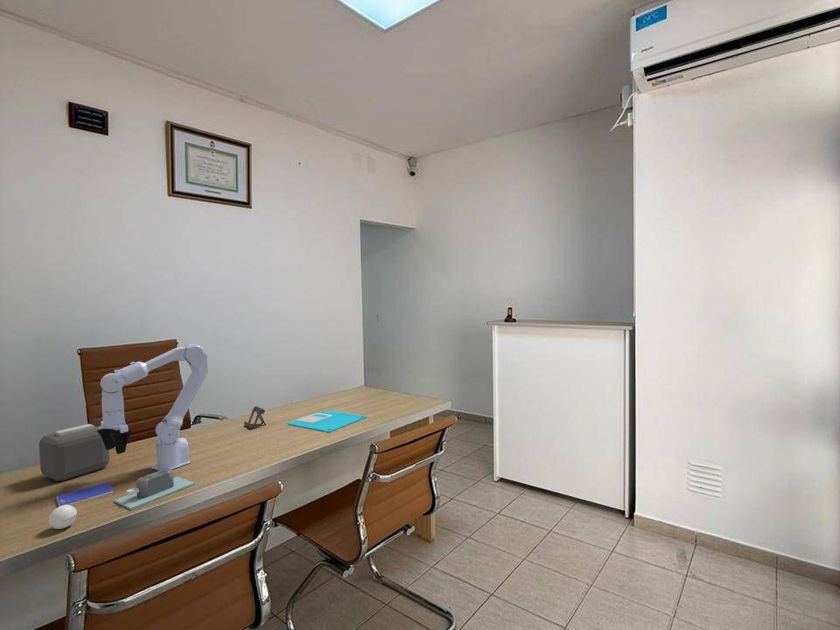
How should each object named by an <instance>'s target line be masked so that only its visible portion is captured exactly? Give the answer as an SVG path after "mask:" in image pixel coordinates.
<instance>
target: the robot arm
mask: <svg viewBox="0 0 840 630" xmlns="http://www.w3.org/2000/svg"><path fill="white" fill-rule="evenodd" d="M175 361H176V362H187V363H188V366H189V368H190V370H191V372H190V374H189V376H188V378H187V379H186V381H185V383H184V385H183V387H182V389H181V390H180V392H179V394H178V396H177V397H176V400H175V401H174V403H173V405H172V407H171V409H170V410H169V412H168V413H167V414H166V415H165V416H164V418H163V419H162V420H161V422H158V424H156V427H155V435H156V436H157V437H158V439H157V440H156V441H155V451H156V454H155V455H156V465H154V466H153V465H152V466H151V469H153V470H156V471H157V472H158V471H161V470H164V469H173V470H174V469H178V468H180V467H183V466H187V465H188V464H191V461H190V449H189V443H188V440H187V439H186V438H185V437H180V435H181V433H180V432H181V431H180V430H181V428H182V426H183V421H184V417H185V416H186V414H187V412H188V411H189V409H190V406H191V405H192V403H193V401H194V399H195V397H196V396H197V393H198V392H199V389H200V388H201V386H202V384H203V383H204V381H205V379H206V377H207V375H208V373H209V365H208V364H209V363H208V353H207V351H206V350H205V348H204V347H203V346H201V345H199V344H196V343H191V342H190V343H186V344H184V345H182V346H178V347H176V348H173V349H170V350H169V351H166V352H165V353H162V354H160V355H158V356H156V357H154V358H152V359H150V360H147V361H146V362H143V361H137V362H135V361H132V362H130V363H129V365H127V366H124V367H121V368H120V369H114V370H113V372H110V373H107V374H105V375H103V377H102V378H101V379H100V383H99V384H100V388H101V396H102V397H101V409H102V410H101V412H102V420H101V421H100V425H99V426H98V427H99V429H100V430H97V432H98V433H99V435H100V436H101V438H102V440H103V442H104V445H105V448H106V450H109V451H110V450H114V449H115V452H116V454H117V455H120V454H124V453H125V452H126V450H127V445H128V441H129V439H130V436H131V435H132V433H133V430H132V429H129V425H128V424H126V423H127V422H126V420H125V404H124V394H123V387H124V386H128V385H131V384H133V383H135V382H139V380H142V379H143V378H146V377H147V376H148V375H149V372H150V371H152V370H155V369H157V368H160V367H162V366H164V365H167V364H169V363H171V362H175Z"/></svg>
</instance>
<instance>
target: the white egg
mask: <svg viewBox="0 0 840 630" xmlns="http://www.w3.org/2000/svg"><path fill="white" fill-rule="evenodd" d="M78 510H80V508H79V509H77V508H75V506H72V505H63V506H60V507H59V506H57V507H56V508H55V509H54V510H52V511H51V513H50V514H49V517H48V525H49V526H50V527H51V528H52V529H54V530H55V529H56V530H62V529H65V528H67V527H69V526H71V525H72V524H73V523H75V521H76V519H77V515H78V512H77V511H78Z"/></svg>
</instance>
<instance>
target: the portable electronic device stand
mask: <svg viewBox="0 0 840 630" xmlns="http://www.w3.org/2000/svg"><path fill="white" fill-rule="evenodd" d="M255 413H256V417H255V420H254V423H253V424H251V422H252V419H253V416H254V414H255ZM265 413H266V411H265V409H264V408H261V407H260V406H257V405H255V406H254V407H253V409H252V410H251V414H250V416H249V419H248V421H243V425H244V426H245V427H246V428H248V429H250V430H254V429H255V428H256V427H257V426H256V425H257V422H258V419H259V421H260V422H261V424H262V423H264V425H265V426H267V424H266V422H265V420H264V418H263V416H262V415H264V414H265Z"/></svg>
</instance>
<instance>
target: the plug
mask: <svg viewBox="0 0 840 630" xmlns="http://www.w3.org/2000/svg"><path fill="white" fill-rule="evenodd" d="M173 478H174V469H164V470H161V471H158V470H157V471H156V472H152V473H150V474H147V475H144V476H141V477H138V478H137V479H135V480H136V481H135V486H136V487H133V488H130V489H126V496H127V495H133V494H135V493H137V498H146V497H149V496H152V495H154V494H157V493H160V492H162V491H165V490H167V489H170V488H172V487H173V486H174V479H173Z"/></svg>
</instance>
